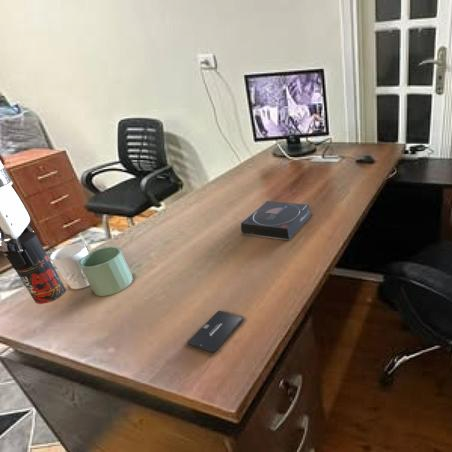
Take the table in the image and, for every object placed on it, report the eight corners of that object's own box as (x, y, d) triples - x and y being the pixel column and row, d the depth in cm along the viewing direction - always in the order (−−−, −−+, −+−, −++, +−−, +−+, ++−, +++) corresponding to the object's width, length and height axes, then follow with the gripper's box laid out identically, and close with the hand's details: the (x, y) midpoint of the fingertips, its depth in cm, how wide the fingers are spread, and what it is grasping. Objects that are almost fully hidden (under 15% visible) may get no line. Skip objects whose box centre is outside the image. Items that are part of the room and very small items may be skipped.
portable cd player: (267, 210, 125) (265, 200, 123) (311, 215, 119) (309, 204, 117) (241, 234, 112) (239, 223, 110) (289, 240, 106) (287, 228, 104)
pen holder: (91, 300, 88) (75, 271, 84) (96, 280, 96) (82, 253, 92) (131, 288, 91) (118, 260, 87) (134, 269, 99) (122, 243, 95)
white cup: (76, 294, 91) (58, 263, 86) (62, 285, 95) (44, 255, 90) (106, 277, 97) (91, 247, 92) (91, 270, 101) (76, 240, 96)
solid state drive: (187, 344, 72) (186, 342, 72) (219, 312, 80) (218, 310, 80) (213, 354, 70) (212, 351, 69) (243, 319, 77) (243, 317, 77)
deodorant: (29, 305, 77) (-8, 248, 70) (44, 289, 82) (11, 234, 75) (57, 301, 78) (24, 244, 71) (71, 285, 83) (41, 230, 76)
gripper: (-22, 172, 72) (21, 245, 81) (-65, 203, 58) (-7, 287, 67) (22, 165, 75) (59, 237, 84) (-10, 193, 61) (39, 276, 70)
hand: (29, 259), depth 75 cm, fingers closed on deodorant, 6 cm apart
